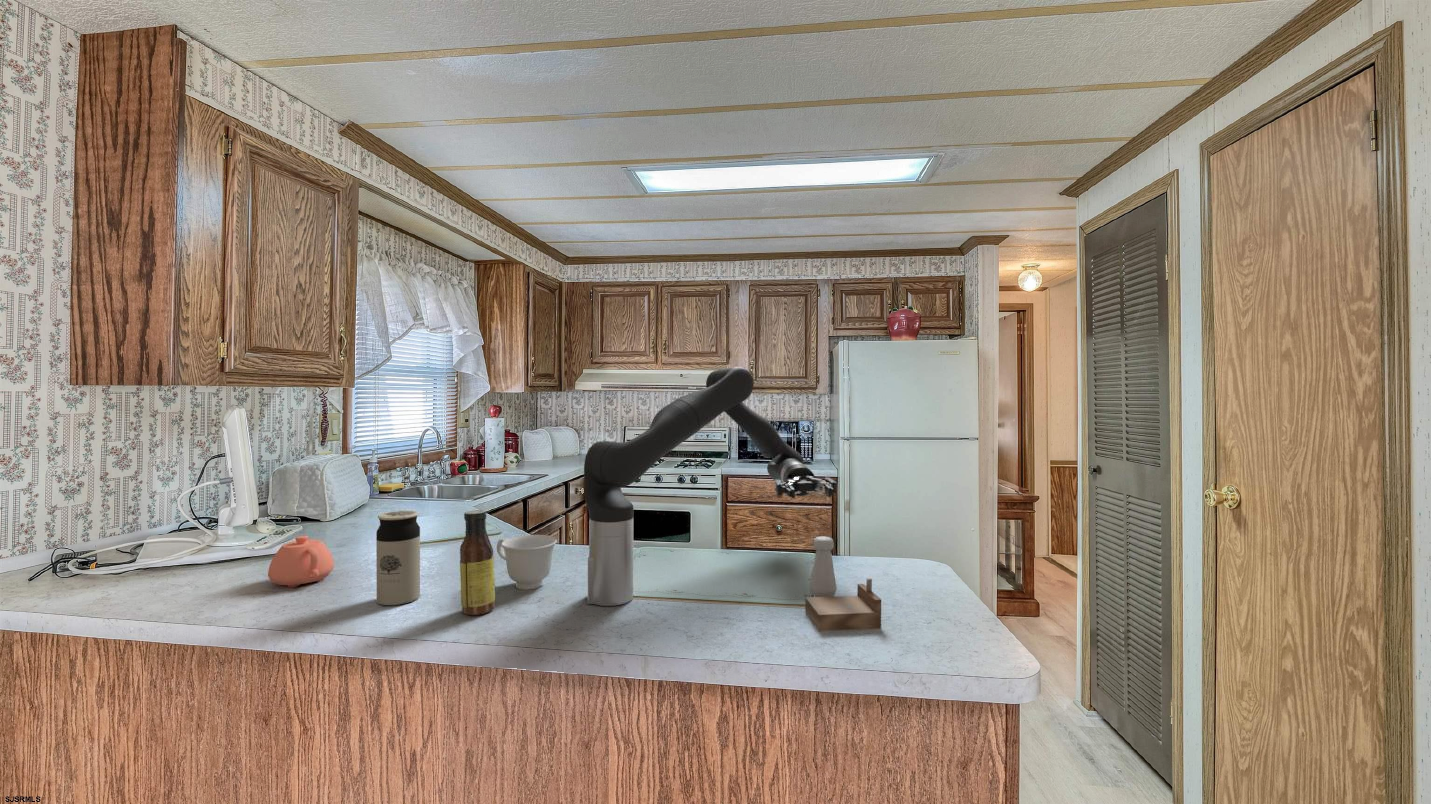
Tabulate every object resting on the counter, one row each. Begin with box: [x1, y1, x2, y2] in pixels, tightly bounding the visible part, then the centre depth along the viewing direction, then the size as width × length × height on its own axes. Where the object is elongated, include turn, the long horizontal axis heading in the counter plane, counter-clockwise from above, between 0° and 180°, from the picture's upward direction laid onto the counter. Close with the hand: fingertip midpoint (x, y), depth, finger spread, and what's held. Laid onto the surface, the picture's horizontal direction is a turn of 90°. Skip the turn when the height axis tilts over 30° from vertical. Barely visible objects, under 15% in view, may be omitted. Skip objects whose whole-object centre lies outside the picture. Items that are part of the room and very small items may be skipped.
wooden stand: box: [804, 577, 882, 632], centre depth 112 cm, size 12×9×8 cm
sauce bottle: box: [459, 509, 496, 616], centre depth 115 cm, size 7×6×20 cm
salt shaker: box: [808, 535, 838, 597], centre depth 124 cm, size 6×6×13 cm
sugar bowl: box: [267, 535, 335, 588], centre depth 131 cm, size 12×14×10 cm
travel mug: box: [375, 509, 421, 606], centre depth 120 cm, size 8×8×18 cm
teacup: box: [496, 534, 558, 590], centre depth 130 cm, size 12×15×10 cm
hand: (811, 493), depth 132 cm, fingers open, 8 cm apart
